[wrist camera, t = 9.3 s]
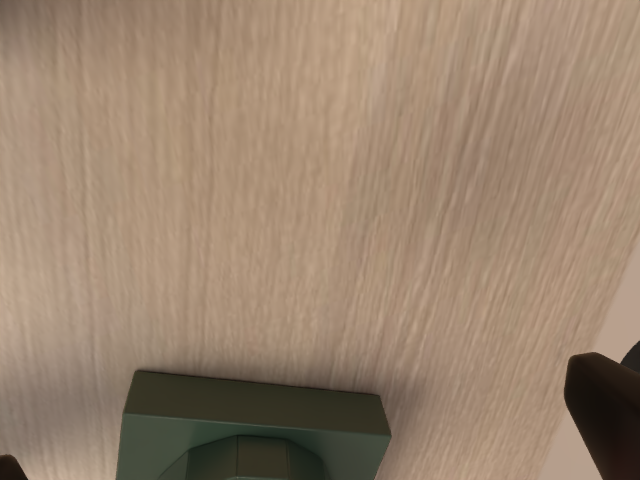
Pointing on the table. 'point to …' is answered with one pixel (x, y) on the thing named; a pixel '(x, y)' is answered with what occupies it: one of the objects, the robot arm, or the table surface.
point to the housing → (247, 431)
